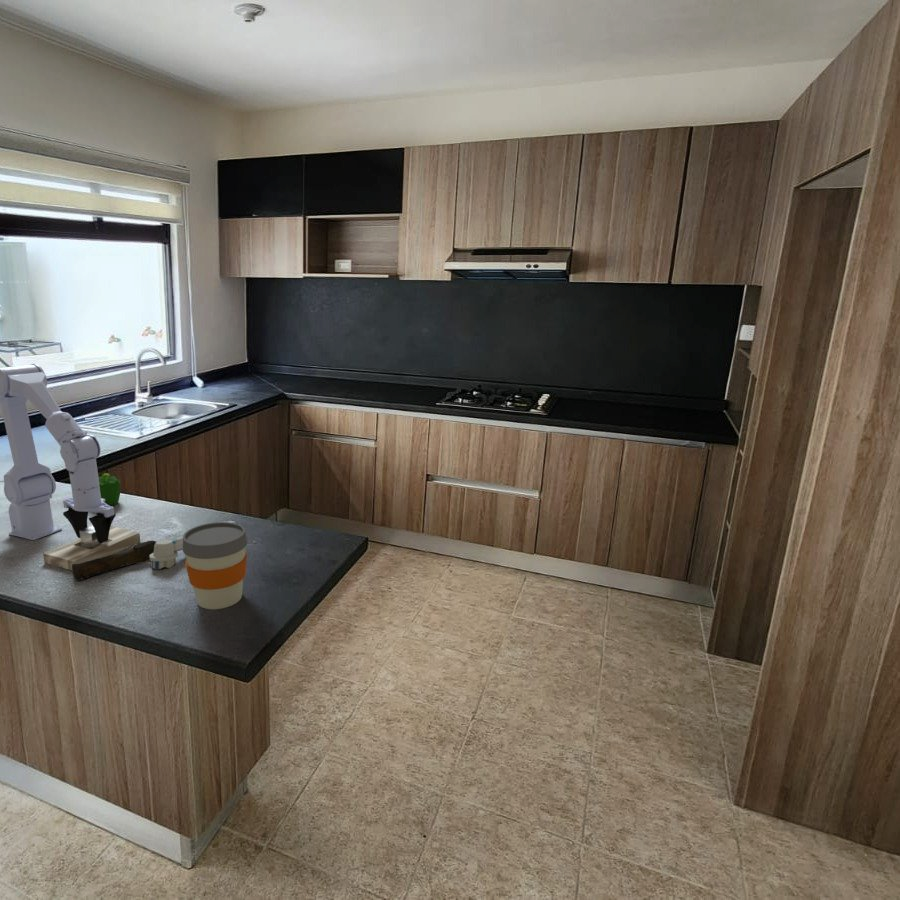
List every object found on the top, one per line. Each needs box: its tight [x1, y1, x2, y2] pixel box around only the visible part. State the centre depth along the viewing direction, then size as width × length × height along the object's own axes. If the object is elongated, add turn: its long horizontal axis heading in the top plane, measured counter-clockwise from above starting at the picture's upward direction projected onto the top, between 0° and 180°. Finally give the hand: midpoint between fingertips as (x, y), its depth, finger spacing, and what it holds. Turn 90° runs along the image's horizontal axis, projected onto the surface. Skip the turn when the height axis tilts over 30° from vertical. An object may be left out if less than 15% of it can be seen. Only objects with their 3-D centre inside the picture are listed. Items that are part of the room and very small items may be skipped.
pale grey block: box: [79, 525, 108, 549], centre depth 146 cm, size 4×4×6 cm
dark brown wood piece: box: [71, 540, 157, 582], centre depth 138 cm, size 19×4×5 cm, turn 134°
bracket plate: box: [42, 525, 141, 571], centre depth 146 cm, size 10×18×2 cm, turn 159°
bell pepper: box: [98, 472, 122, 507], centre depth 175 cm, size 8×8×10 cm
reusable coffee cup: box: [182, 521, 248, 610], centre depth 125 cm, size 13×13×15 cm
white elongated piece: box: [149, 519, 239, 570], centre depth 148 cm, size 5×7×25 cm
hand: (92, 539), depth 145 cm, fingers open, 6 cm apart
